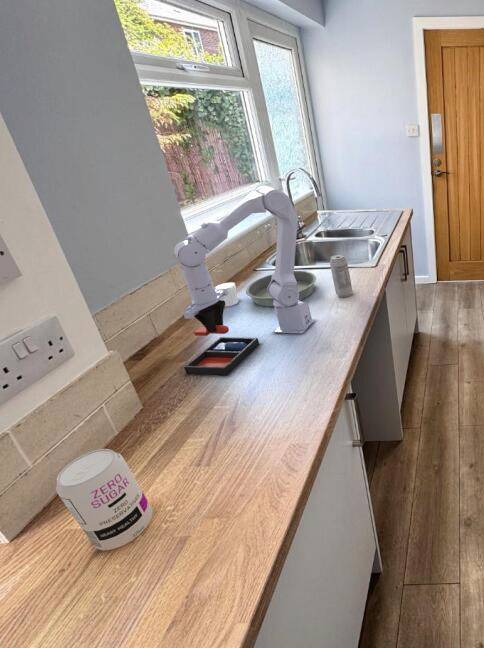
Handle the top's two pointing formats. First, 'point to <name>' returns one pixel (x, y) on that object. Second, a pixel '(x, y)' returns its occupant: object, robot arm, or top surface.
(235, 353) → the black divided tray
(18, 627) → the top surface
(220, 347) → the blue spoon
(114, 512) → the supplement can
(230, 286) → the white cup
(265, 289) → the cake pan
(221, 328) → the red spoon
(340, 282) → the grey cylinder
